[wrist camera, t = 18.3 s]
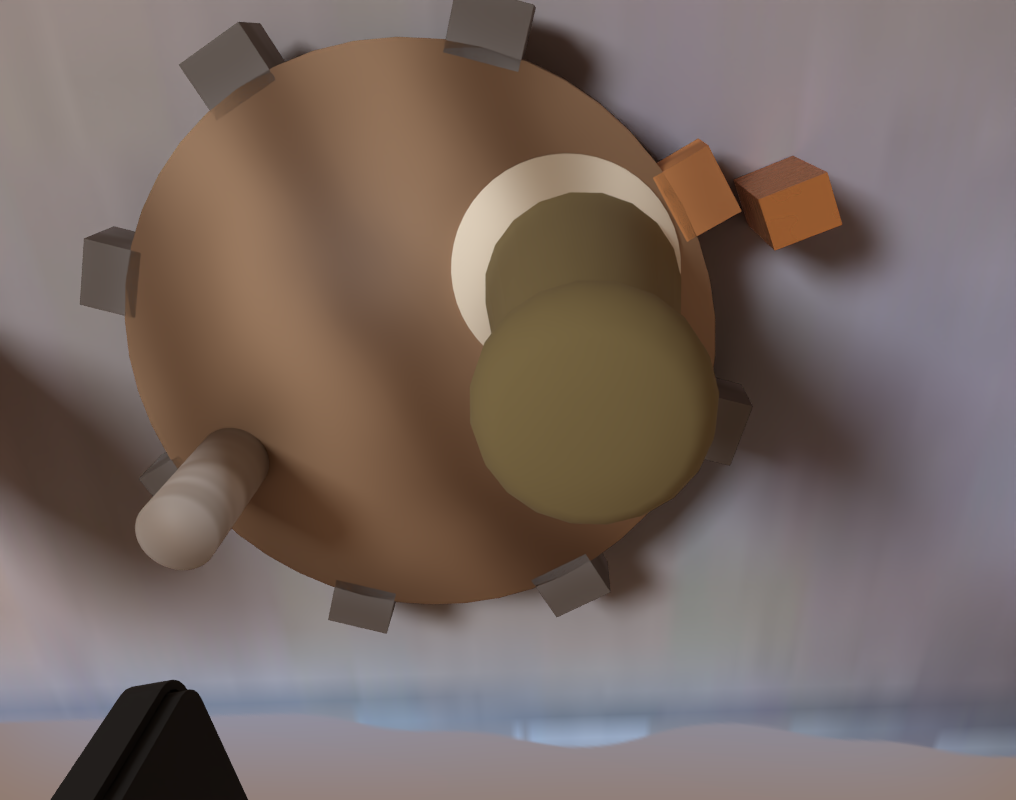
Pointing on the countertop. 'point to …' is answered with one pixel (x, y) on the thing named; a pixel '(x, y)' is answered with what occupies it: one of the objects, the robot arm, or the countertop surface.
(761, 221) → the orange wooden block
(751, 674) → the countertop surface
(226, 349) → the sprocket wheel
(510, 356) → the cork
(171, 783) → the robot arm
